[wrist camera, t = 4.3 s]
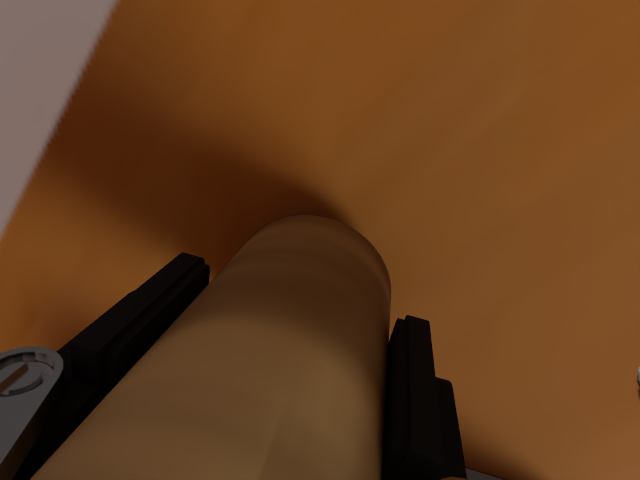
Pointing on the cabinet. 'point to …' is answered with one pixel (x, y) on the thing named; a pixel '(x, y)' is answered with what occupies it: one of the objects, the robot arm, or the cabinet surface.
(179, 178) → the cabinet surface
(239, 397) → the peg
